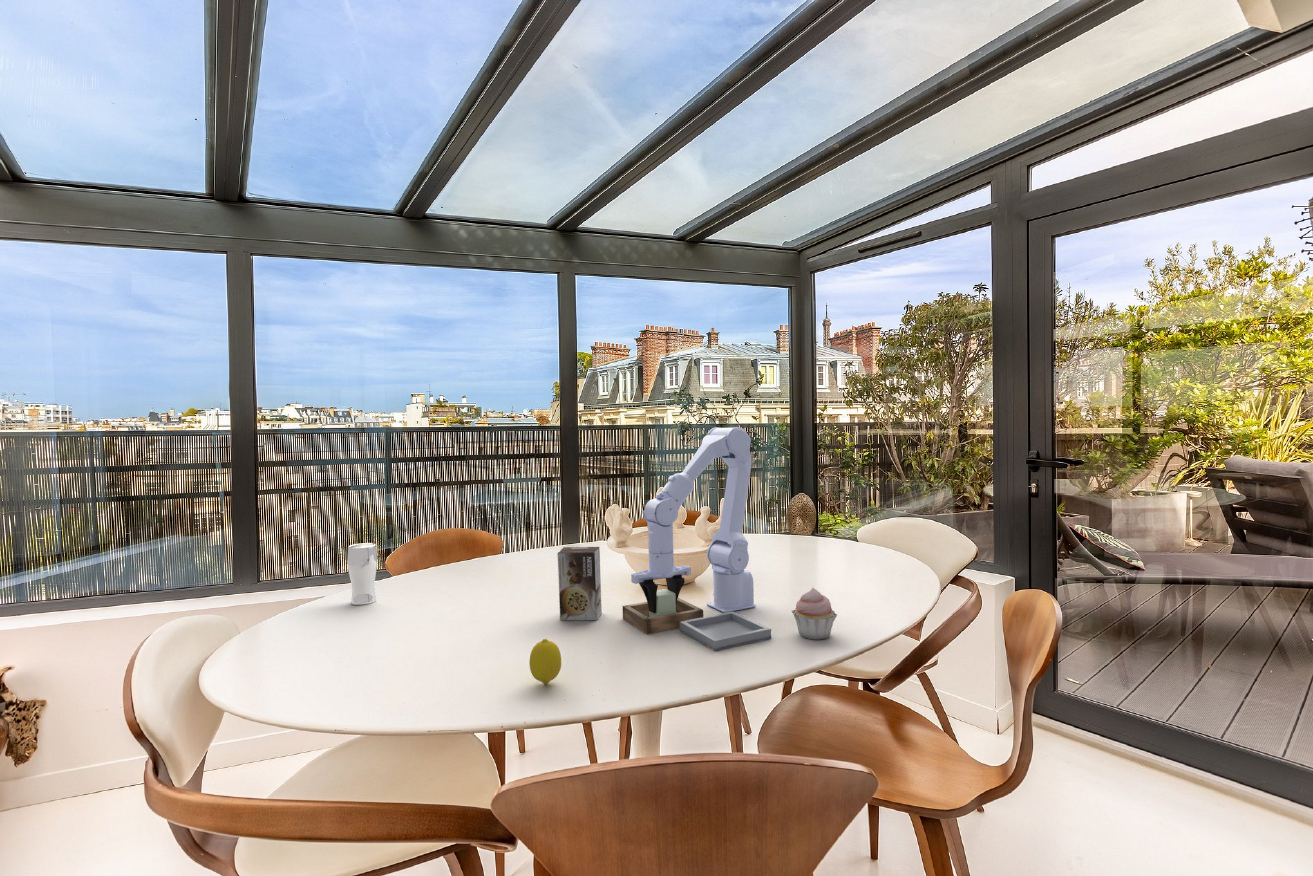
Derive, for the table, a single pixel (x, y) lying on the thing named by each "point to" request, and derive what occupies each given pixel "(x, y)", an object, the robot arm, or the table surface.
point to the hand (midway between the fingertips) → (662, 610)
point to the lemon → (545, 661)
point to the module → (664, 603)
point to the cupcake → (814, 615)
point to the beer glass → (362, 572)
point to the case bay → (660, 623)
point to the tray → (725, 630)
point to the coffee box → (579, 583)
